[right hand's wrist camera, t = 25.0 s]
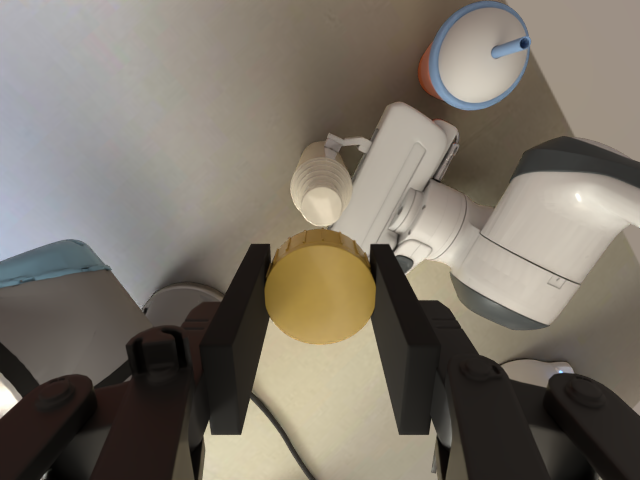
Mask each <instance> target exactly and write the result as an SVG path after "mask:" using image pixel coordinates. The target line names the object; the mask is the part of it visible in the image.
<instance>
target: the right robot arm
mask: <svg viewBox="0 0 640 480" xmlns="http://www.w3.org/2000/svg"><path fill="white" fill-rule="evenodd" d="M270 263H271V255H270V244H251V245H250V247H249V249H248V251H247V253H246V255H245V257H244V259H243V261H242V263H241V265H240V267H239V269H238V270H237V272H236V274H235V276H234V278H233V280H232V282H231V284H230V286H229V288H228V290H227V292H226V294H225V295H223V294H222V293H221V292H219V291H217V290H215V289H213V288H211V287H209V286H206V285H203V284H198V283H192V282H183V283H176V284H172V285H169V286H166V287H164V288H162V289H161V290H159V291H158V292H156V293H155V294H154V295H153V296H152V297H151V298H150V299H149V300H148V302H147V303H146V304H145V305H144V307H143V308H142V310H141V309H140V308H139V307H138V305H137V304H136V303H135V302H134V300H133V299H132V298H131V296H130V295H129V294H128V293H127V291H126V290H125V289H124V287H123V286H122V285H121V283H120V282H119V281H118V280H117V278H116V277H115V276H114V274H113V273H112V272H111V270H112V269H111V268H110V267H109V266H108V265H105V264H104V263H103V262H102V261H101V259H100V258H99V257H98V256H97V255H96V254H95V253H94V251H93V250H92V249H91V248H90V247H89V246H88V245H87V244H85V243H84V242H82V241H79V240H73V239H68V240H62V241H58V242H54V243H51V244H48V245H45V246H42V247H39V248H36V249H33V250H30V251H27V252H24V253H22V254H19V255H16V256H14V257H11V258H8V259H6V260H3V261H1V262H0V480H40V479H41V478H42V480H202V476H203V467H204V458H205V444H204V437H203V435H204V432H205V429H206V427H207V424H208V421H210V428H211V435H241V433H242V429H243V425H244V421H245V416H246V412H247V408H248V404H249V400H250V398H251V399H252V400H253V402H254V403H255V404H256V405H257V406H258V407H259V408H260V409H261V410H262V411H263V412H264V414H265V415H266V416H267V417H268V418H269V420H270V421H271V422H272V423H273V425H274V426H275V427H276V429H277V430H278V432H279V433H280V435H281V436H282V438H283V439H284V441H285V443H286V444H287V446H288V448H289V450H290V451H291V453H292V455H293V456H294V458H295V459H296V461H297V462H298V464H299V465H300V467H301V468H302V470H303V471H304V473H305V474H306V476H307V477H308V478H309V480H315V479H314V477H313V476H312V475H311V473H310V472H309V470H308V469H307V468H306V466H305V465H304V463H303V462H302V460H301V458H300V457H299V455H298V454H297V452H296V451H295V449H294V447H293V445H292V444H291V442H290V440H289V438H288V437H287V435H286V433H285V432H284V430H283V429H282V427H281V426H280V425H279V423H278V422H277V420H276V419H275V418H274V417H273V415H272V414H271V413H270V412H269V410H268V409H267V408H266V407H265V406H264V405H263V404H262V402H261V401H260V400H259V399H258V398H257V397H256V396H255V395H254V394H253V393H252V388H253V384H254V379H255V375H256V371H257V367H258V363H259V359H260V355H261V351H262V347H263V342H264V338H265V334H266V330H267V326H268V322H269V318H270V316H269V314H268V312H267V309H266V306H265V291H264V287H265V283H266V274H267V271H268V268H269V265H270ZM369 263H370V266H371V267H370V268H371V271H372V274H373V277H374V280H375V284H376V295H375V308H374V311H373V313H372V315H371V321H372V325H373V329H374V333H375V337H376V341H377V346H378V350H379V354H380V358H381V362H382V366H383V370H384V374H385V378H386V383H387V387H388V391H389V395H390V399H391V403H392V407H393V411H394V415H395V420H396V424H397V428H398V432H399V435H429V430H430V423H431V419H432V421H433V424H434V427H435V430H436V432H437V437H436V444H435V450H434V457H433V464H432V471H431V473H436V471H437V476H438V480H599V477H601V479H602V480H640V416H639V415H638V414H637V413H636V412H635V411H634V410H633V409H631V408H630V407H629V406H628V405H627V404H626V403H625V402H624V401H623V400H622V399H621V398H619V397H618V396H617V395H616V394H615V393H614V392H612V391H611V390H610V389H608V388H607V387H606V386H604V385H603V384H601V383H599V382H597V381H595V380H593V379H591V378H588V377H585V376H582V375H578V374H574V373H564V372H563V373H558V374H554V375H553V376H552V377H550V378H549V380H548V384H547V388H546V387H541V386H537V385H532V384H528V383H523V382H519V381H516V380H512V379H510V378H509V377H508V375H507V373H506V372H505V370H504V369H503V368H502V367H501V366H500V365H499V364H497V363H496V362H495V361H493V360H491V359H489V358H487V357H484V356H481V355H479V354H478V352H477V351H476V349H475V347H474V346H473V344H472V343H471V341H470V340H469V338H468V337H467V335H466V334H465V332H464V331H463V329H461V326H460V324H459V323H458V321H457V320H456V318H455V317H454V315H453V314H452V312H451V311H450V309H449V308H447V307H446V306H445V305H443V304H442V303H440V302H439V301H438V300H418V299H417V297H416V295H415V293H414V291H413V289H412V287H411V285H410V284H409V282H408V280H407V278H406V276H405V274H404V272H403V270H402V268H401V266H400V264H399V262H398V260H397V258H396V256H395V254H394V253H393V251H392V249H391V247H390V245H389V244H370V259H369Z"/></svg>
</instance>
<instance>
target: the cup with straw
mask: <svg viewBox="0 0 640 480" xmlns="http://www.w3.org/2000/svg"><path fill="white" fill-rule="evenodd" d="M530 44H531V39H530V38H529V35H528V31H527V28H526V26H525V23H524V22H523V20H522V18H521V17H520V16H519V15H518V14H517V12H516V11H514V10H513V9H512V8H510V7H509V6H507V5H505V4H502V3H499V2H495V1H480V2H475V3H472V4H469V5H467V6H465V7H463V8H461V9H459V10H458V11H456V12H455V13H454V14H452V15H451V16H450V17H449V18H448V19H447V20H446V21H445V22H444V24H443V25H442V26H441V28H440V29H439V31H438V32H437V34H436V36H435V38H434V40H433V41H432V43H431V44H430V45H429V46H428V48H427V49H426V51H425V53H424V54H423V56H422V58H421V60H420V63H419V66H418V78H419V82H420V84H421V86H422V88H423V89H424V90H425V91H426V92H427V93H428V94H430V95H431V96H434V97H435V98H437V99H440V100H443V101H445V102H446V103H448V104H449V105H451V106H453V107H456V108H459V109H463V110H480V109H484V108H487V107H490V106H492V105H494V104H496V103H498V102H499V101H501V100H502V99H504V98H505V97H506V96H507V95H508V94H510V93H511V92H512V90H513V89H514V88H515V87H516V86H517V84H518V83H519V81H520V80H521V78H522V76H523V74H524V72H525V69H526V67H527V63H528V59H529V53H530Z"/></svg>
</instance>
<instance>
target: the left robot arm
mask: <svg viewBox="0 0 640 480" xmlns="http://www.w3.org/2000/svg"><path fill="white" fill-rule="evenodd" d="M454 138H455V142H453V140H454ZM458 142H459V132H458V129H457V128H456V127H455V126H454V125H453V124H451V123H449V122H447V121H445V120H443V119H432V120H431V119H429V118H428V117H427V116H425V115H424V114H422V113H421V112H419V111H418V110H416V109H415V108H413V107H411V106H409V105H408V104H406V103H403V102H394V103H392V104H389V105H387V106H386V108H385V110H384V112H383V114H382V116H381V118H380V120H379V123H378V125H377V127H376V129H375V131H374V133H373V135H372V137H371V139H370V140H368V139H366V138H364V137H361V136H359V137H349V138H344V139H342V138H340V137H338V136H336V135H334V134H331V133H329V134H328V136H327V138H326V141H325V143H324V146H325V147H327V148H332V149H333V150H334V151H336V152H338V153H339V151H340V148H341V146H349V145H357V146H356V148H357V149H358V150H359V151H361V152H363V153H364V154H363V156H362V158H361V160H360V162H359V164H358V166H357V168H356V170H355V172H354V175H353V177H352V179H351V180H352V185H353V191H352V196H351V199H350V202H349V204H348V206H347V207H346V209H345V210H344V211H343V212H342V215H341V216H340V218H339V219H338V220H337V221H336V222H335V223H333V224H331V225H329V227H328V229H327V230H332V231H336V232H339V231H340V232H341V233H342V234H344V235H346V236H348V237H349V238H351V239H352V240H356V243H357V244H358V245H359V246H360V247H361V249H362V250H363V251H364V253H365V252H366V254H367V257H368V260H369V259H370V244H389V245H390V247H391V249H392V251H393V253H394V254H395V256H396V258H397V260H398V262H399V264H400V266H401V268H402V270H403V272H404V274H405V275H406V274H408V273H409V272H410V271H411V270H412V269H413V268H414V267H416V266H417V265H418V264H419V263H420V262H422V261H423V260H424V259H427V260H431V261H437V262H442V263H444V264H446V265H448V266H450V267H451V271H450V276H451V280H452V283H453V285H454V288H455V290H456V293H457V296H458V298H459V300H460V301H461V302H462V303H463V304H464V305H465V306H466V307H467V308H468V309H470V310H471V311H473V312H474V313H476V314H478V315H480V316H482V317H484V318H486V319H488V320H491V321H493V322H495V323H497V324H500V325H502V326H504V327H507V328H509V329H512V330H535V329H541V328H545V327H548V326H550V324H551V323H552V322H553V321H554V320H555V319H556V318H557V317H558V315H559V314H560V313H561V311H562V310H563V309H564V307H565V306H566V305H567V303H568V302H569V301H570V299H571V298H572V297H573V295H574V294H575V293H576V291H577V290H578V288H579V287H580V286H581V283H582V281H583V280H584V279H585V277H586V276H587V274H588V273H589V272H590V270H591V269H592V268H593V266H594V265H595V263H596V262H597V261H598V259H599V258H600V257H601V255H602V254H603V253H604V251H605V250H606V248H607V247H608V246H609V244H610V243H611V242H612V240H613V239H614V238H615V237H616V236H617V235H618V234H619V233H620V232H621V231H622V230H623V229H625V228H626V227H627V226H629V225H631V224H633V225H634V226H636V227H638V228H640V162H637V161H635V160H632V159H631V158H629V157H628V156H626V155H624V154H623V153H621V152H619V151H617V150H615V149H613V148H611V147H609V146H607V145H604V144H602V143H599V142H596V141H592V140H588V139H583V138H576V137H566V136H562V137H558V138H555V139H552V140H549V141H547V142H544V143H542V144H539V145H537V146H535V147H533V148H531V149H529V150H527V151H525V152H524V153H523V155H522V157H521V159H520V161H519V163H518V166H517V168H516V170H515V171H514V173H513V175H512V177H511V179H510V182H509V183H510V184H509V186H508V187H507V189H506V191H505V192H504V194H503V196H502V197H501V199H500V201H499V202H498V204H497V206H496V207H495V208H493V207H490V206H484V205H479V204H477V203H475V202H473V201H472V200H471V199H470V198H469V197H468V196H466V195H465V194H463V193H461V192H459V191H457V190H455V189H453V188H451V187H449V186H447V185H445V184H442V183H441V180H442V178H443V176H444V175H445V173H446V171H447V169H448V167H449V164H450V162H451V160H452V159H453V157H454V156H455V155H456V153H457V152H458V150H459V147H460V145H459V144H458ZM430 177H432V178H430ZM501 367H502V368H503V369H504V370H505V372H506V373H507V375H508V377H509V378H510V379H512V380H516V381H519V382H523V383H528V384H532V385H537V386H541V387H546V388H547V384H548V380H549V378H550V377H552V376H553V375H554V374H558V373H563V372H564V373H574V371H573V369H572V367H571V366H570V365H569V364H568V363H567V362H553V363H546V362H541V361H537V360H529V359H524V360H516V361H511V362H508V363H505V364H503V365H501ZM599 480H602V479H601V477H599Z"/></svg>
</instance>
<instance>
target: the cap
mask: <svg viewBox="0 0 640 480" xmlns="http://www.w3.org/2000/svg"><path fill="white" fill-rule="evenodd" d="M370 267H371V266H370V263H369V260H368V257H367V254H366V252H365V253H364V251H363V250H362V249H361V247H360V246H359V245H358V244H357V243H356V240H352V239H351V238H349V237H348V236H346V235H344V234H342V233H341V232H340V231H339V232H336V231H332V230H326V229H324V228H322V229H314V230H308V231H306V230H304V232H301V233H299V234H296V235H295V236H293V237H291V238H290V237H289V238H288V240H287V241H286V242H285V243H284V244H283V245H282V246H281V247H280V248H279V249H278V248H277V250H276V253H275V256H274V258H273V261H272V263H270V265H269V268H268V271H267V274H266V283H265V287H264V291H265V306H266V309H267V312H268V314H269V316H270V318H271V319H272V321H273V322H274V324H275V325H276V326H277V327H278V328H279V329H280V330H281V331H283V332H284V333H285V334H287V335H288V336H290V337H292V338H294V339H296V340H298V341H301V342H305V343H309V344H332V343H336V342H339V341H342V340H345V339H347V338H349V337H351V336H352V335H354V334H356V333H357V332H358V331H359V330H361V329H362V328H363V326H364V325H365V324H366V323H367V322H368V320H369V319H370V317H371V315H372V313H373V311H374V308H375V295H376V284H375V280H374V277H373V274H372V271H371V268H370Z"/></svg>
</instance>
